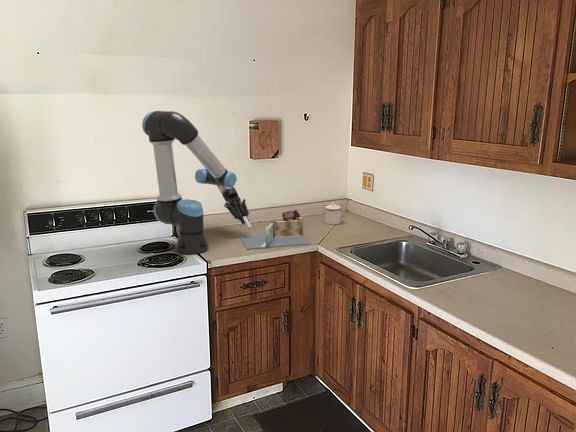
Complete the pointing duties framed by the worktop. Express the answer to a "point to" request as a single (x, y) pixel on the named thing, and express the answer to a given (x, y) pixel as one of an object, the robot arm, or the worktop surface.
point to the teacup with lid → (333, 214)
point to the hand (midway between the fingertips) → (249, 228)
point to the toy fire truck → (290, 215)
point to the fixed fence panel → (288, 228)
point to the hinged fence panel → (268, 234)
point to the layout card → (272, 241)
